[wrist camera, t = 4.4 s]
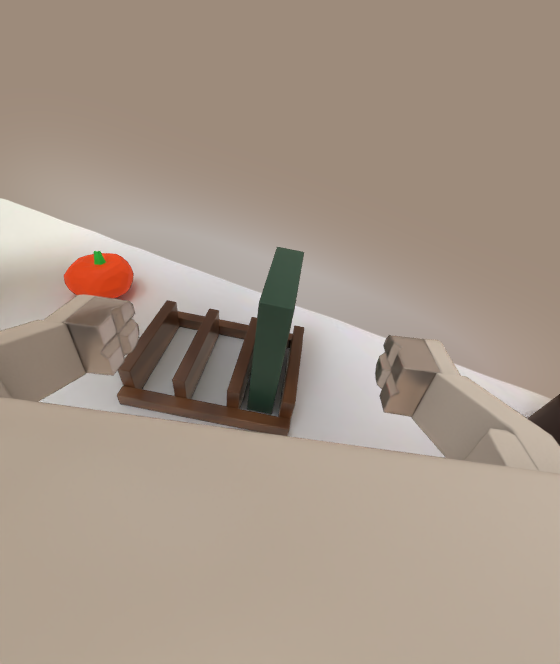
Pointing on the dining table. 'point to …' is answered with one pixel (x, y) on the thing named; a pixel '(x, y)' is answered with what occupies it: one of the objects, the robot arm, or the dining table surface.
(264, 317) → the book
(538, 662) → the robot arm
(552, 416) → the bottle
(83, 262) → the pumpkin
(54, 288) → the dining table surface
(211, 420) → the book rack
